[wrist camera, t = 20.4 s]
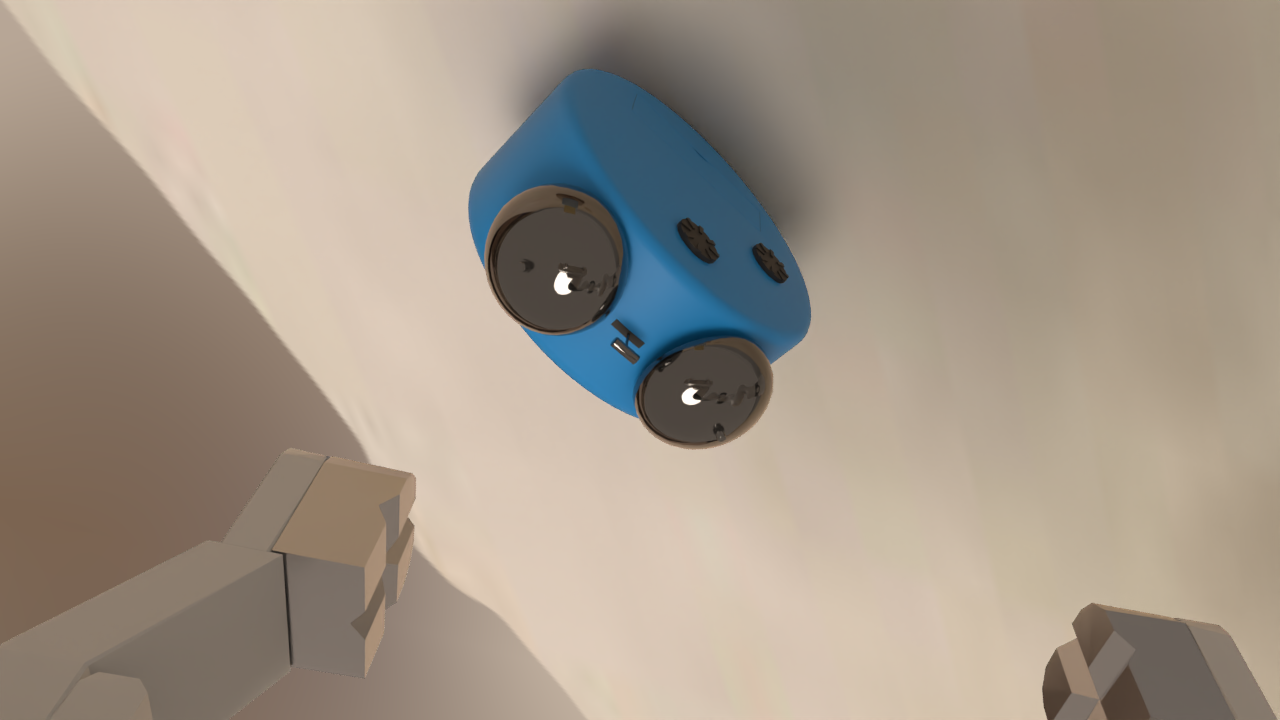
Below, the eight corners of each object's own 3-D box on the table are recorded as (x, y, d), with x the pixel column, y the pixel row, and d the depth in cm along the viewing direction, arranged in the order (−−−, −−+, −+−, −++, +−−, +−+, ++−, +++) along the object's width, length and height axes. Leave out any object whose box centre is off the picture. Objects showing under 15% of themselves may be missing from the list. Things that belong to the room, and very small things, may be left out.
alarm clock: (506, 125, 41) (400, 286, 28) (600, 22, 38) (528, 151, 26) (712, 313, 45) (699, 526, 33) (810, 232, 42) (837, 432, 30)
